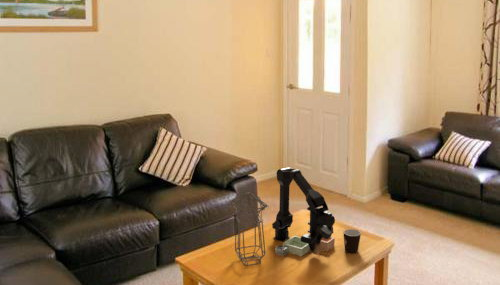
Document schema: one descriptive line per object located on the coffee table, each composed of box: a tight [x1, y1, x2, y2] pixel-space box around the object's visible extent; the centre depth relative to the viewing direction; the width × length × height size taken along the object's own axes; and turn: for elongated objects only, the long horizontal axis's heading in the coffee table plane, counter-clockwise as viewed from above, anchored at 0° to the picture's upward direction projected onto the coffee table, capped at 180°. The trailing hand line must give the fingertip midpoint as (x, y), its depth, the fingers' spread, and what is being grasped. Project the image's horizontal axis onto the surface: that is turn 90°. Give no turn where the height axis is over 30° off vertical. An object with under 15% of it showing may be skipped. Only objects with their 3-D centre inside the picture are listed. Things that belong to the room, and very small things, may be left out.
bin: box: [282, 235, 309, 257], centre depth 257 cm, size 11×11×4 cm
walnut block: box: [308, 243, 322, 255], centre depth 248 cm, size 4×4×4 cm
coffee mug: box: [343, 228, 362, 255], centre depth 256 cm, size 12×9×10 cm
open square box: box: [320, 236, 336, 253], centre depth 259 cm, size 7×7×5 cm
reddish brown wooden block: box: [274, 244, 289, 257], centre depth 253 cm, size 5×4×4 cm
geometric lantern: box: [229, 191, 269, 267], centre depth 242 cm, size 16×16×35 cm
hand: (314, 249), depth 249 cm, fingers closed on walnut block, 4 cm apart
